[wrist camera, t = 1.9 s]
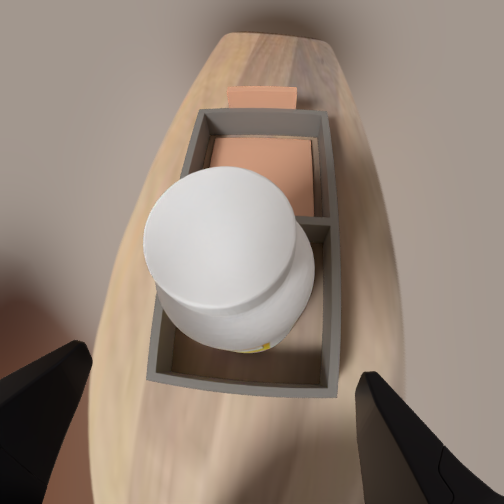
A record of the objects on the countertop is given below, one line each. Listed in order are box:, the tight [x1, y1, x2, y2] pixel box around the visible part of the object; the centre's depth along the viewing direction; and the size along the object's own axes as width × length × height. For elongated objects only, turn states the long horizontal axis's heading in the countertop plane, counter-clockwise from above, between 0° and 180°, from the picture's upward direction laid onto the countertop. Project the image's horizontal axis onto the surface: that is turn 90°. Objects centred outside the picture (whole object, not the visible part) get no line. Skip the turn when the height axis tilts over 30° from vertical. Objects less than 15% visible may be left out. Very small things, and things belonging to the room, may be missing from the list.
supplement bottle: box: [143, 166, 315, 353], centre depth 14 cm, size 7×7×13 cm
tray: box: [146, 86, 341, 398], centre depth 20 cm, size 24×12×5 cm, turn 176°
